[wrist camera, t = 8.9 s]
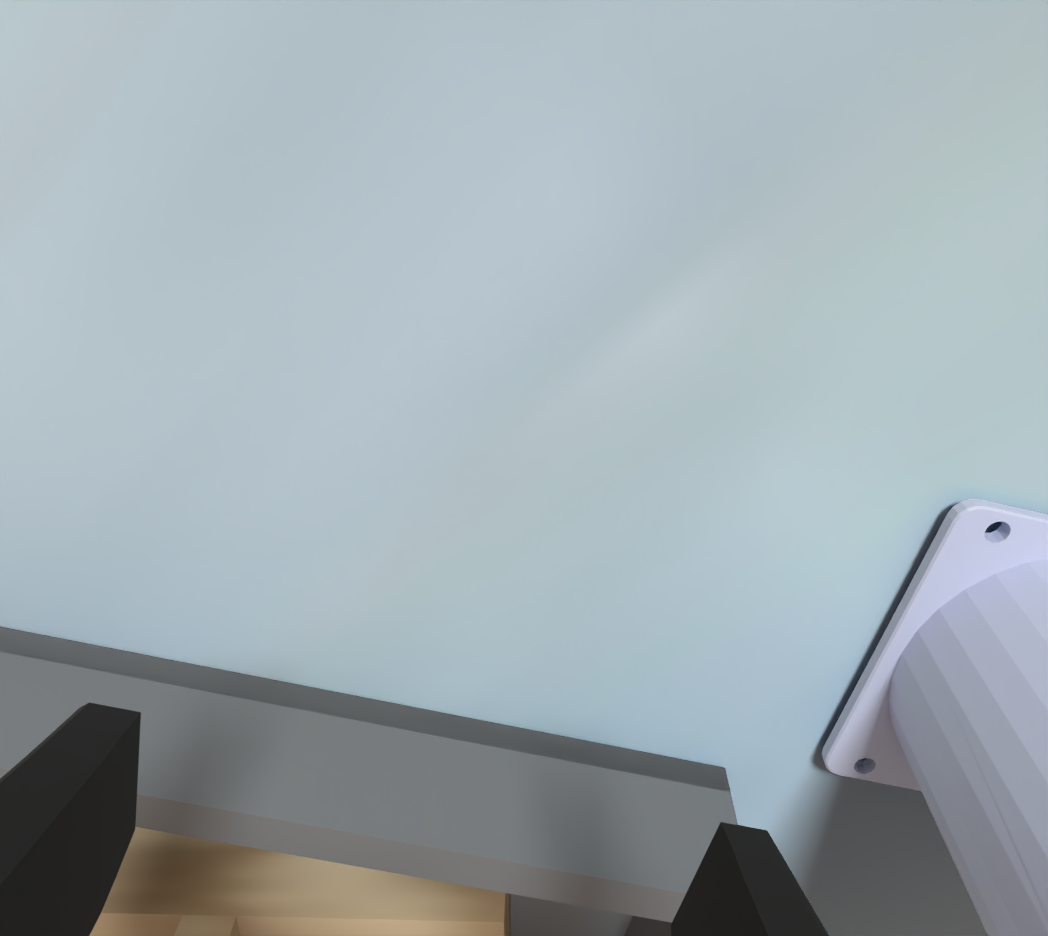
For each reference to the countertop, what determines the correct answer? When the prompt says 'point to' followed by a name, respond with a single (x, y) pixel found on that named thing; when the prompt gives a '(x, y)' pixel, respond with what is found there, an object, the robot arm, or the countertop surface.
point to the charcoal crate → (387, 785)
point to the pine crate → (282, 896)
